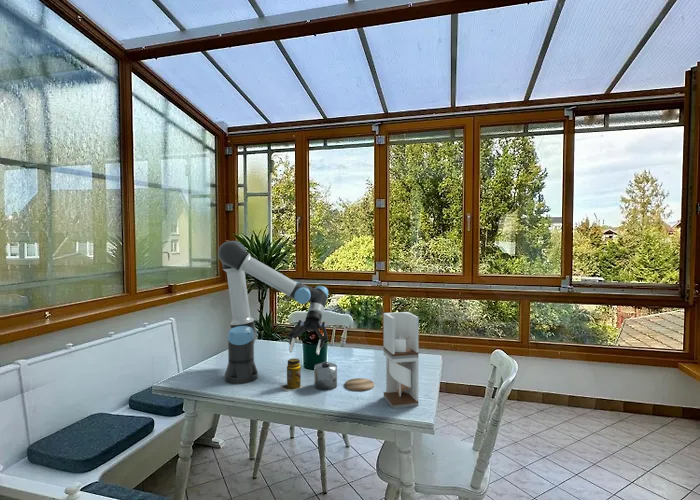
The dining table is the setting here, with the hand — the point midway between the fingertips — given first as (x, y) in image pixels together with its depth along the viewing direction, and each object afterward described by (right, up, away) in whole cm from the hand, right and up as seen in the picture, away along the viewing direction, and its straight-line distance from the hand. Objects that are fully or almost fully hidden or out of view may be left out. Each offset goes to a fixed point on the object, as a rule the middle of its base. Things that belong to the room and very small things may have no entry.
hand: (303, 352), depth 188 cm
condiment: (-4, -13, -9) cm, 17 cm away
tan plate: (+26, -13, -8) cm, 30 cm away
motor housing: (+11, -13, -9) cm, 19 cm away
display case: (+42, -14, -25) cm, 51 cm away
